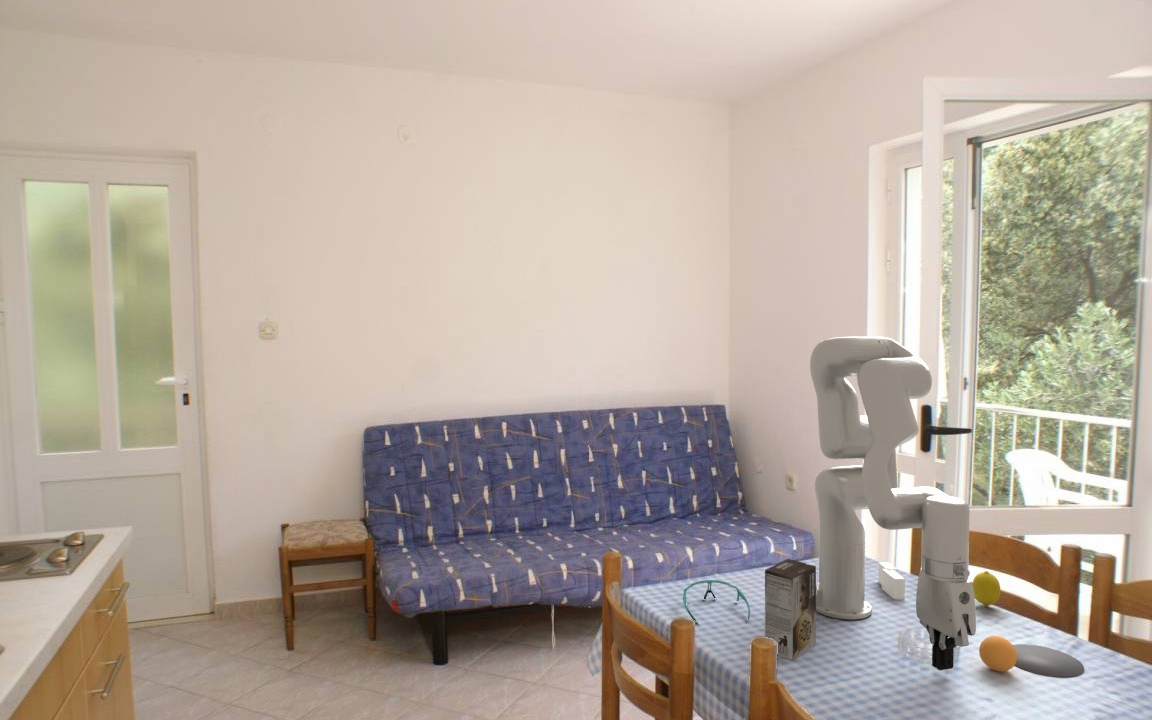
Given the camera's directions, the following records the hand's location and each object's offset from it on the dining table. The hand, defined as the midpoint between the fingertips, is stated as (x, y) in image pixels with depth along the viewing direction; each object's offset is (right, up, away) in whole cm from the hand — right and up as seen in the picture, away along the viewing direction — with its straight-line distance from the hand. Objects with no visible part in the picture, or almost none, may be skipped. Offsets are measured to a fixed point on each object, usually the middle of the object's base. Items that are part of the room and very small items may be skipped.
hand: (942, 667), depth 133 cm
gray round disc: (+21, -1, +6) cm, 22 cm away
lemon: (+25, 0, +32) cm, 40 cm away
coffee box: (-24, -1, +12) cm, 27 cm away
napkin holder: (+9, 0, +42) cm, 43 cm away
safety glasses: (-35, -1, +30) cm, 46 cm away
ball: (+11, +2, +2) cm, 11 cm away
